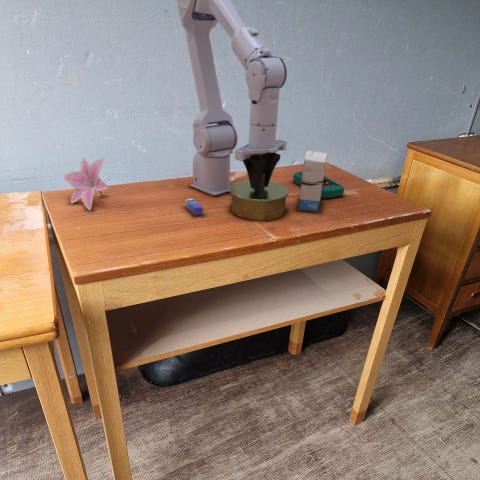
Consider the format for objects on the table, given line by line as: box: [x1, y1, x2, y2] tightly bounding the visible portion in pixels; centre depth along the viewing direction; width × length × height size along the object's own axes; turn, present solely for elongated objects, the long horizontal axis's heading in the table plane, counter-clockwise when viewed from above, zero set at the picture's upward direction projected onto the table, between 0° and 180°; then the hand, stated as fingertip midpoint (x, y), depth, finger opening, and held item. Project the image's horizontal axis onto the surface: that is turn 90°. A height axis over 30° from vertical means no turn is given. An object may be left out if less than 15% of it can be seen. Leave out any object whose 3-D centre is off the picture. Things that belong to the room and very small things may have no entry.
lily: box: [63, 156, 109, 211], centre depth 103 cm, size 12×12×10 cm
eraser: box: [184, 198, 203, 217], centre depth 101 cm, size 2×6×2 cm, turn 25°
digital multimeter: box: [292, 170, 345, 200], centre depth 117 cm, size 7×15×3 cm, turn 23°
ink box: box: [297, 150, 328, 213], centre depth 104 cm, size 8×5×12 cm, turn 168°
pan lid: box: [229, 171, 290, 202], centre depth 100 cm, size 14×14×5 cm
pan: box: [231, 194, 287, 221], centre depth 103 cm, size 12×12×4 cm
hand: (259, 187), depth 101 cm, fingers closed on pan lid, 2 cm apart
